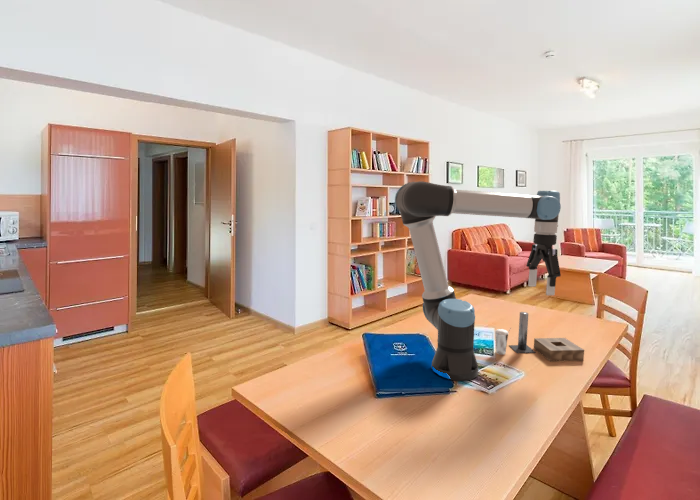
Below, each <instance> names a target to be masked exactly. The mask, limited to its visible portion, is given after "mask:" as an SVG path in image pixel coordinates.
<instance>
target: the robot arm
mask: <svg viewBox="0 0 700 500" xmlns="http://www.w3.org/2000/svg"><path fill="white" fill-rule="evenodd" d="M394 203H395V208H396V209H397V210H398V212H399V213H400V218H401V220H402V224H403V226H405V227H406V228H407V229H408V231H409V235H410V239H411V242H412V247H413V250H414V253H415V258H416V262H417V266H418V270H419V273H420V278H421V281H422V284H423V290H424V291H423V292H422V294H421V298H422V302H423V303H422V312H423V315H424V316H425V318H426V320H427V321H428V322H429V323H430V324H431V325H432V326H433V327H434V328H435V329H436V330H437V347H436V350H435V353H434V356H433V358H432V361H431V367H432V366H433V367H434V368H435V369H436V370H438V371H440V372H443V373H447V374H448V375H449V376H450V378H451V380H450V381H456V382H457V381H458V382H460V381H461V382H463V381H464V382H465V381H470V380H473V379H475V378H477V377H478V375H479V366H478V361H477V358H476V355H475V351H474V344H475V343H474V342H475V323H476V322H475V321H476V313H475V307H474V306H473V305H472V304H471V303H470V302H469V301H466V300H462V299H459V298H457V297H456V294H455V290H454V288H453V287H452V286H450V285H449V283H448V279H447V274H446V271H445V267H444V263H443V258H442V255H441V251H440V247H439V243H438V239H437V238H438V237H437V235H436V231H435V226H434V220H435V219H436V217H449V216H451V215H452V214H455V215H456V214H458V215H470V216H471V215H472V216H473V215H474V216H488V217H490V216H491V217H505V218H506V217H507V218H520V219H533V220H534V227H533V228H534V229H533V233H534V234H533V241H532V242H533V244H532V246H531V250H530V252H529V256H528V258H527V261H526V267H528V270H529V272H528V282H527V283H528V285H527V287H536V288H537V278H538V266H539V265H540V263H541V261H543V262H544V264H545V268H546V271H547V274H548V275H547V276H546V277H547V278H546V289H545V290H546V291H545V296H556V295H555V293H556V283H557V278H560V277H561V269H560V263H559V257H558V249H557V248H553V246H555V245H556V244H557V236H558V235H557V234H556V233H558V227H559V215H560V212H561V208H562V207H561V193H560V192H559V191H558V190H538V191H537V193H536V194H535V195H534V194H523V193H522V194H519V193H507V192H494V191H492V192H491V191H481V190H480V191H479V190H477V191H476V190H467V189H463V190H462V189H455V188H454V187H453V186H451V185H442V184H438V183H437V184H436V183H432V182H427V181H421V180H420V181H411V182H409V181H408V182H407V183H405V184H402V185H401V186H400V187H399V188H398V190H397V191H396V193H395V196H394Z"/></svg>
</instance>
